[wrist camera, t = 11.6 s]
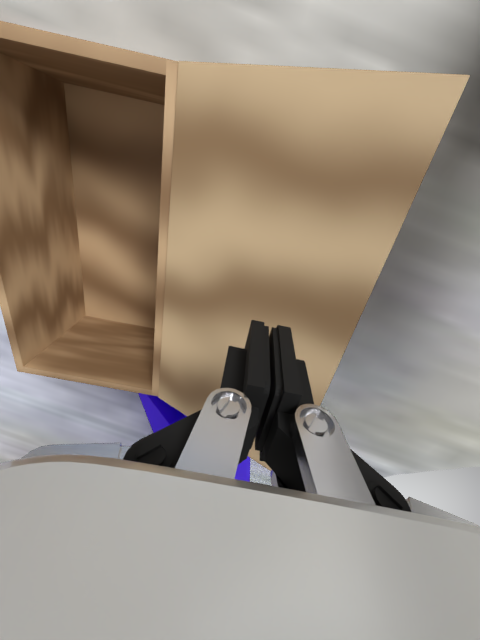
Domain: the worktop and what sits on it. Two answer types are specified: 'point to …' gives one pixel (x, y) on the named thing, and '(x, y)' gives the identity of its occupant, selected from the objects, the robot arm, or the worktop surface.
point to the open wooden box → (84, 206)
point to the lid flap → (286, 208)
